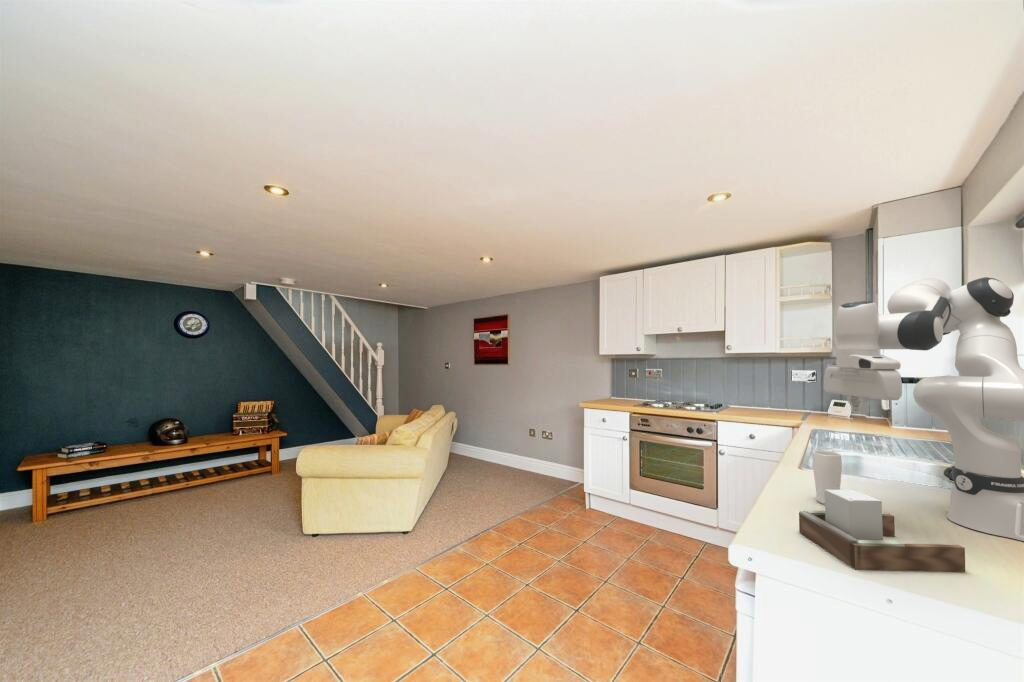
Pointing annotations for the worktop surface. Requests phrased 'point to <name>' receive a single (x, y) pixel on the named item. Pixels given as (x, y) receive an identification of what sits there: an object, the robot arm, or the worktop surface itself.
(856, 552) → the wooden serving tray
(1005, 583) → the worktop surface
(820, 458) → the drinking glass
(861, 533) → the supplement box
